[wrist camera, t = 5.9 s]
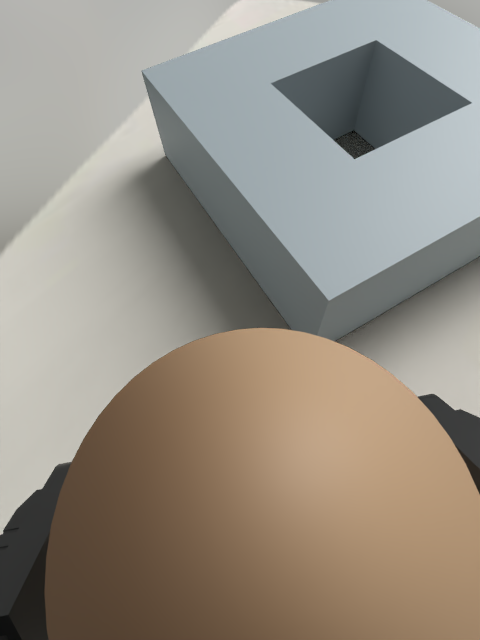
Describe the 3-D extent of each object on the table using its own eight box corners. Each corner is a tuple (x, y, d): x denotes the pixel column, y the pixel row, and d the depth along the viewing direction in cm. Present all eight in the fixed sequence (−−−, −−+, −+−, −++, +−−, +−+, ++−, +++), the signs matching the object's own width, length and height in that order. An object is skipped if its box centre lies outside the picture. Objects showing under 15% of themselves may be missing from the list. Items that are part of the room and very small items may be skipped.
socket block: (365, 70, 25) (387, -21, 21) (559, 209, 19) (652, 120, 14) (165, 155, 23) (141, 70, 18) (310, 355, 16) (328, 300, 11)
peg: (279, 423, 15) (317, 274, 5) (345, 529, 13) (617, 637, 3) (185, 480, 14) (0, 441, 4) (240, 603, 12) (147, 1077, 2)
